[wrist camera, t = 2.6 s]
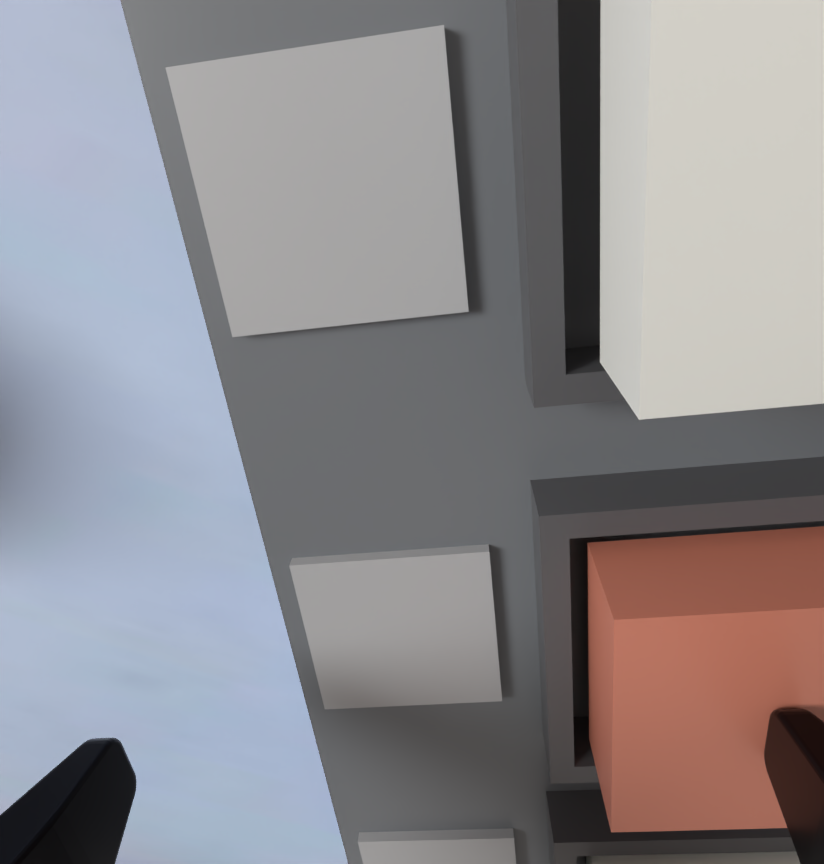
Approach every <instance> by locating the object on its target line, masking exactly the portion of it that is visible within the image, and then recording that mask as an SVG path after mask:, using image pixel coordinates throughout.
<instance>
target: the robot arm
mask: <svg viewBox="0 0 824 864" xmlns="http://www.w3.org/2000/svg"><path fill="white" fill-rule="evenodd" d="M764 760H765V766H766V770H767V773H768V776H769V778H770V781H771V784H772V787H773V789H774V792H775V795H776V798H777V800H778V803H779V806H780V809H781V811H782V814H783V817H784V820H785V823H786V825H787V828H788V831H789V834H790V836H791V839H792V842H793V845H794V847H795V850H796V853H797V856H798V858H799V861H800V864H824V722H823V721H822V720H821V719H820V718H818V717H817V716H816V715H814V714H813V713H812V712H810V711H808V710H806V709H801V708H795V709H777V710H774V711H773V712H772V713H771V714H770V718H769V724H768V730H767V736H766V742H765V749H764ZM135 791H136V776H135V773H134V770H133V768H132V766H131V764H130V761H129V759H128V757H127V755H126V752H125V750H124V748H123V746H122V744H121V742H120V741H119V740H118V739H116V738H96V739H90V740H88V741H86V742H85V743H83V744H82V745H81V746H79V747H78V748H77V749H76V750H75V751H74V752H73V753H71V754H70V755H69V756H68V757H67V758H66V759H64V760H63V761H62V762H61V763H60V764H59V765H58V766H56V767H55V768H54V769H53V770H52V771H51V772H49V773H48V774H47V775H46V776H45V777H44V778H43V779H41V780H40V781H39V782H38V783H37V784H36V785H34V786H33V787H32V788H31V789H30V790H29V791H28V792H26V793H25V794H24V795H23V796H22V797H21V798H19V799H18V800H17V801H16V802H15V803H14V804H13V805H11V806H10V807H9V808H8V809H7V810H6V811H5V812H3V813H2V814H1V815H0V864H115V862H116V858H117V855H118V851H119V848H120V844H121V841H122V837H123V834H124V830H125V827H126V823H127V820H128V816H129V813H130V809H131V806H132V802H133V799H134V796H135Z"/></svg>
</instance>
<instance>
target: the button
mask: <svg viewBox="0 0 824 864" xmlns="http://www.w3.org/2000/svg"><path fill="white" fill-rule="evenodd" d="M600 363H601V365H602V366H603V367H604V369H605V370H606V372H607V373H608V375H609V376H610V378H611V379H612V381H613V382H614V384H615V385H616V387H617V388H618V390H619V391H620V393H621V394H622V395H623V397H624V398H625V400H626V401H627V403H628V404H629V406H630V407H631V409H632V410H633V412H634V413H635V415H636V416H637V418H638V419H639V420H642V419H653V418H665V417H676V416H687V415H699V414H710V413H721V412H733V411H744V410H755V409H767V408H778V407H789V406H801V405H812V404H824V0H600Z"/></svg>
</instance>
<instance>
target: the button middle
mask: <svg viewBox="0 0 824 864" xmlns="http://www.w3.org/2000/svg"><path fill="white" fill-rule="evenodd" d="M587 553H588V679H589V741H590V745H591V749H592V753H593V758H594V762H595V766H596V770H597V775H598V779H599V783H600V788H601V792H602V796H603V800H604V805H605V809H606V813H607V817H608V822H609V826H610V830H611V832H650V831H689V830H728V829H767V828H787V825H786V823H785V820H784V817H783V814H782V811H781V809H780V806H779V803H778V800H777V798H776V795H775V792H774V789H773V787H772V784H771V781H770V778H769V776H768V773H767V770H766V766H765V760H764V749H765V742H766V736H767V730H768V724H769V718H770V714H771V713H772V712H773V711H774V710H777V709H795V708H801V709H806V710H808V711H810V712H812V713H813V714H814V715H816V716H817V717H818V718H820V719H821V720H822V721H823V722H824V526H819V527H805V528H791V529H776V530H762V531H748V532H733V533H719V534H705V535H691V536H676V537H662V538H648V539H633V540H619V541H605V542H591V543H587Z"/></svg>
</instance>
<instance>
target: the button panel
mask: <svg viewBox="0 0 824 864" xmlns="http://www.w3.org/2000/svg"><path fill="white" fill-rule="evenodd" d="M121 4H122V8H123V11H124V15H125V19H126V23H127V26H128V30H129V34H130V38H131V42H132V45H133V49H134V53H135V57H136V61H137V64H138V68H139V72H140V76H141V80H142V83H143V87H144V91H145V95H146V98H147V102H148V106H149V110H150V114H151V117H152V121H153V125H154V129H155V133H156V136H157V140H158V144H159V148H160V152H161V155H162V159H163V163H164V167H165V170H166V174H167V178H168V182H169V186H170V189H171V193H172V197H173V201H174V205H175V208H176V212H177V216H178V220H179V223H180V227H181V231H182V235H183V239H184V242H185V246H186V250H187V254H188V258H189V261H190V265H191V269H192V273H193V277H194V280H195V284H196V288H197V292H198V295H199V299H200V303H201V307H202V311H203V314H204V318H205V322H206V326H207V330H208V333H209V337H210V341H211V345H212V349H213V352H214V356H215V360H216V364H217V367H218V371H219V375H220V379H221V383H222V386H223V390H224V394H225V398H226V402H227V405H228V409H229V413H230V417H231V421H232V424H233V428H234V432H235V436H236V439H237V443H238V447H239V451H240V455H241V458H242V462H243V466H244V470H245V474H246V477H247V481H248V485H249V489H250V493H251V496H252V500H253V504H254V508H255V511H256V515H257V519H258V523H259V527H260V530H261V534H262V538H263V542H264V546H265V549H266V553H267V557H268V561H269V565H270V568H271V572H272V576H273V580H274V583H275V587H276V591H277V595H278V599H279V602H280V606H281V610H282V614H283V618H284V621H285V625H286V629H287V633H288V636H289V640H290V644H291V648H292V652H293V655H294V659H295V663H296V667H297V671H298V674H299V678H300V682H301V686H302V690H303V693H304V697H305V701H306V705H307V708H308V712H309V716H310V720H311V724H312V727H313V731H314V735H315V739H316V743H317V746H318V750H319V754H320V758H321V762H322V765H323V769H324V773H325V777H326V780H327V784H328V788H329V792H330V796H331V799H332V803H333V807H334V811H335V815H336V818H337V822H338V826H339V830H340V834H341V837H342V841H343V845H344V849H345V852H346V856H347V860H348V864H586V856H611V855H656V854H702V853H747V852H793V851H796V850H795V847H794V845H793V842H792V839H791V836H790V834H789V831H788V828H767V829H728V830H689V831H650V832H611V830H610V826H609V822H608V817H607V813H606V809H605V805H604V800H603V796H602V792H601V788H600V783H599V779H598V775H597V770H596V766H595V762H594V758H593V753H592V749H591V745H590V741H589V679H588V553H587V543H591V542H605V541H619V540H633V539H648V538H662V537H676V536H691V535H705V534H719V533H733V532H748V531H762V530H776V529H791V528H805V527H819V526H824V404H812V405H801V406H789V407H778V408H767V409H755V410H744V411H733V412H721V413H710V414H699V415H687V416H676V417H665V418H653V419H642V420H639V419H638V418H637V416H636V415H635V413H634V412H633V410H632V409H631V407H630V406H629V404H628V403H627V401H626V400H625V398H624V397H623V395H622V394H621V393H620V391H619V390H618V388H617V387H616V385H615V384H614V382H613V381H612V379H611V378H610V376H609V375H608V373H607V372H606V370H605V369H604V367H603V366H602V365H601V363H600V0H121Z"/></svg>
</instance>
